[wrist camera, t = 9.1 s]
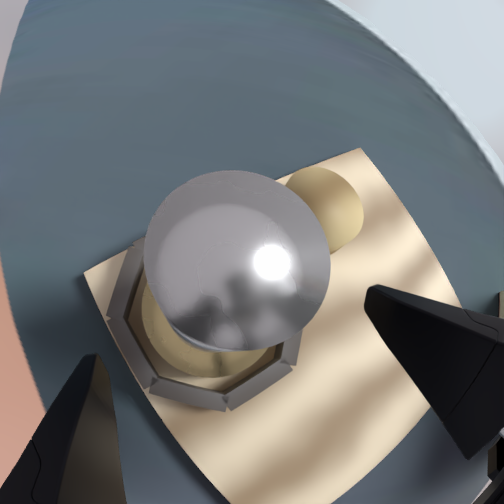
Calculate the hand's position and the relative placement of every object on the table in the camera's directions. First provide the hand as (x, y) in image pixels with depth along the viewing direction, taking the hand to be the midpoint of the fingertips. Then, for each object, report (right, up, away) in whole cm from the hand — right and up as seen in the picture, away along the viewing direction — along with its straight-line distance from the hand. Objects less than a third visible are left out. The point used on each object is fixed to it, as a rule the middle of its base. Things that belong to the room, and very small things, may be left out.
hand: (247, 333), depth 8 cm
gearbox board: (+6, -3, +11) cm, 13 cm away
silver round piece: (-3, -1, +9) cm, 9 cm away
